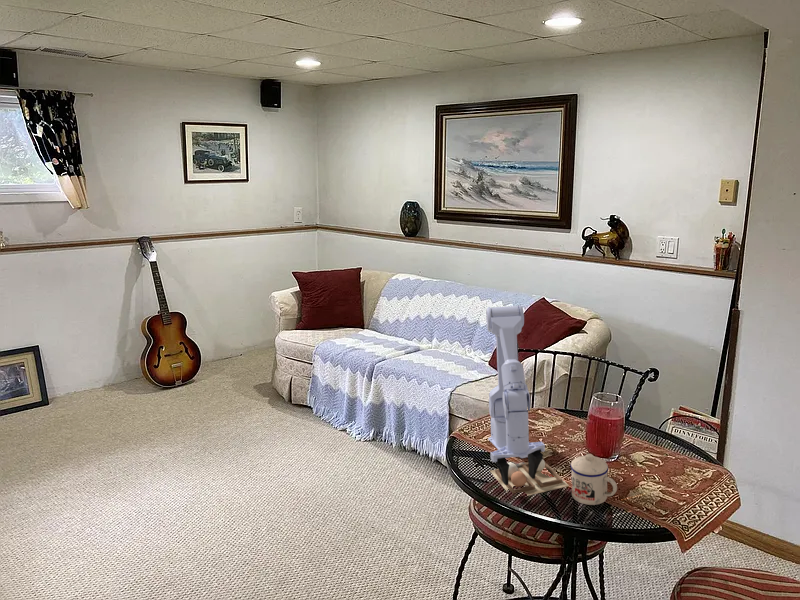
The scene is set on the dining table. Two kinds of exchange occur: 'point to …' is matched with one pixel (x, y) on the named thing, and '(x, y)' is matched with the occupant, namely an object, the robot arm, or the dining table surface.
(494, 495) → the dining table surface
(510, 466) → the cream ball
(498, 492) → the dining table surface
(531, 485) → the trough board
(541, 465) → the cream ball
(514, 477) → the ball terracotta
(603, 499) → the teacup with lid
